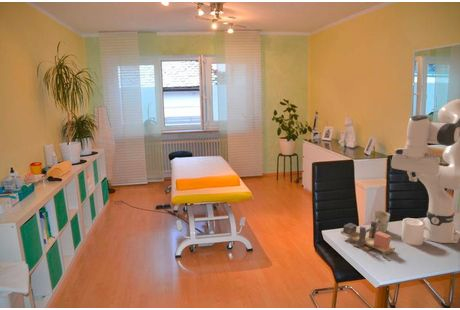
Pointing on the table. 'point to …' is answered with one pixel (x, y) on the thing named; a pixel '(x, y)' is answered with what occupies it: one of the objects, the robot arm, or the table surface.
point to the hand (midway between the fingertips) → (413, 181)
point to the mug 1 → (381, 220)
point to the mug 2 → (414, 231)
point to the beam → (352, 233)
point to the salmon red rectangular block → (382, 240)
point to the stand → (361, 242)
